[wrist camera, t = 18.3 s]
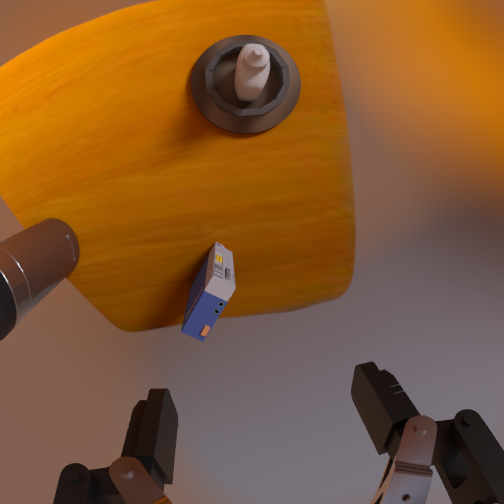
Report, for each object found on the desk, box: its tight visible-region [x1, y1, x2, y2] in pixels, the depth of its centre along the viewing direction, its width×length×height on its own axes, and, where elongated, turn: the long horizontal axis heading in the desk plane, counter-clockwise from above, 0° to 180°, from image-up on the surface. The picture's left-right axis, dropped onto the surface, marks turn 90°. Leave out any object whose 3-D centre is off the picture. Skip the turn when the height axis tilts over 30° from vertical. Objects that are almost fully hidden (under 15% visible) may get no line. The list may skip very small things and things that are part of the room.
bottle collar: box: [191, 35, 301, 134], centre depth 32 cm, size 14×14×4 cm
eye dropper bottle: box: [234, 44, 270, 102], centre depth 27 cm, size 4×6×12 cm
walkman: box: [181, 242, 236, 341], centre depth 36 cm, size 8×3×12 cm, turn 150°
